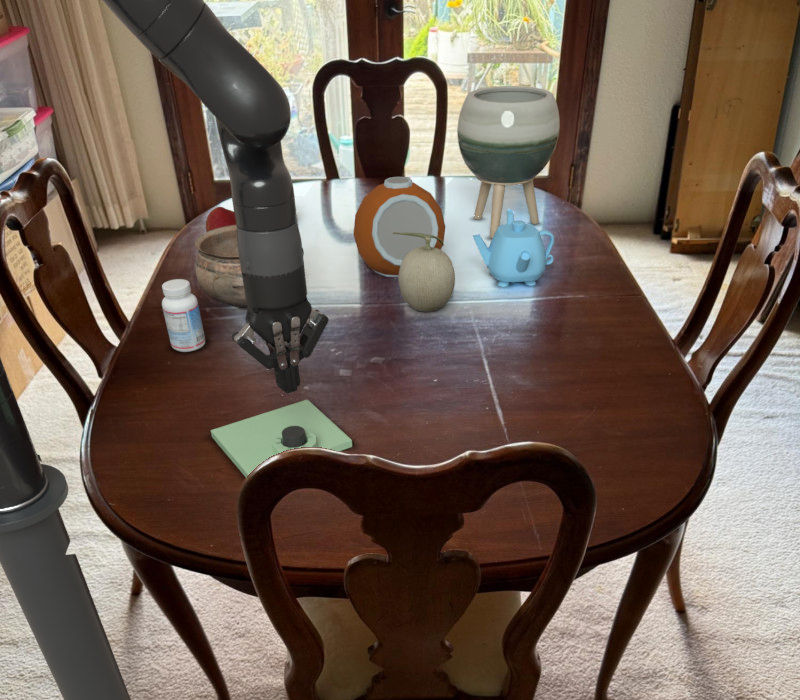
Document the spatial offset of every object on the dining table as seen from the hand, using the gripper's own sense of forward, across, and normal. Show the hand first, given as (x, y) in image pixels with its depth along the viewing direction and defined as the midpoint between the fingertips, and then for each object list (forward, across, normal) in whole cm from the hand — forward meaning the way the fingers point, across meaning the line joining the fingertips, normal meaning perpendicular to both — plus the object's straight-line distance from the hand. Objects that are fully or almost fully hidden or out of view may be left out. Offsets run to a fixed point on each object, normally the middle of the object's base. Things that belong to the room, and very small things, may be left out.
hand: (289, 390), depth 104 cm
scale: (+11, 0, -5) cm, 12 cm away
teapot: (+12, -66, -34) cm, 75 cm away
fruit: (+11, -44, -32) cm, 56 cm away
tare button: (+8, 0, 0) cm, 8 cm away
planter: (+12, -84, -60) cm, 104 cm away
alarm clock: (+11, -51, -53) cm, 74 cm away
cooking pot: (+11, -17, -54) cm, 58 cm away
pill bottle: (+11, 0, -43) cm, 45 cm away
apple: (+11, -26, -88) cm, 92 cm away
